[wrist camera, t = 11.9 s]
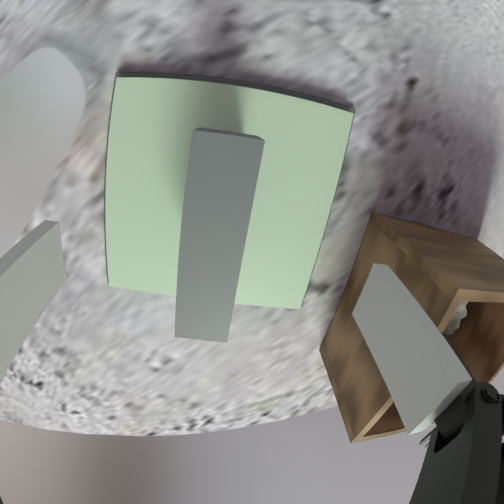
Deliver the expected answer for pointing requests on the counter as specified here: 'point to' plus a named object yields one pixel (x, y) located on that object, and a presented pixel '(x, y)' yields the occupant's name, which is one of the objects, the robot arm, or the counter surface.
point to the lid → (218, 195)
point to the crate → (433, 303)
